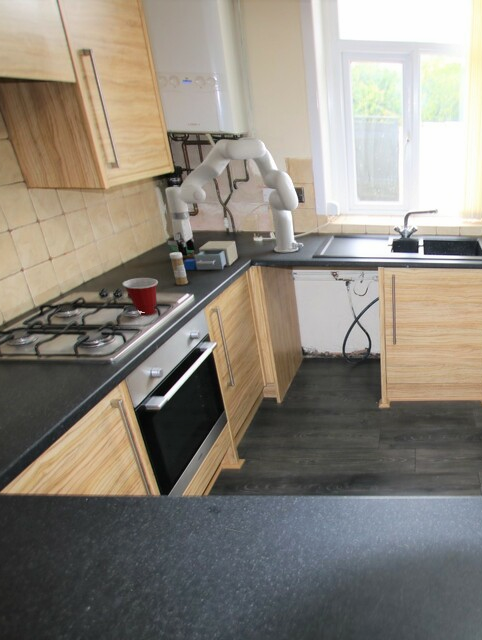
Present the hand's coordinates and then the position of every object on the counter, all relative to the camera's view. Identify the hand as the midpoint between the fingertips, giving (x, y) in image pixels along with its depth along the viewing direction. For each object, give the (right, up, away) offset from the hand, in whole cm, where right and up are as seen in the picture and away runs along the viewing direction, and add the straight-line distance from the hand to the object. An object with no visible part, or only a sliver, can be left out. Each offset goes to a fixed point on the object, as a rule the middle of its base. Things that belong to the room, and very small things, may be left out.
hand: (187, 252), depth 220 cm
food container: (-10, 0, +18) cm, 20 cm away
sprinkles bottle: (+7, -17, -17) cm, 25 cm away
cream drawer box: (+8, -2, +15) cm, 17 cm away
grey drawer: (+10, -6, +4) cm, 12 cm away
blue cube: (0, -7, +3) cm, 8 cm away
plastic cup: (+11, -31, -47) cm, 57 cm away
